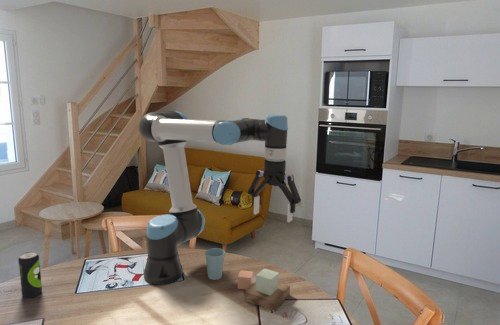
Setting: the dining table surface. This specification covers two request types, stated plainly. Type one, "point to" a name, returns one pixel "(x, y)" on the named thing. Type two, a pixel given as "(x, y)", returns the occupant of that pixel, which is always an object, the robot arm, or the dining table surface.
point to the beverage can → (30, 274)
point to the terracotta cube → (245, 280)
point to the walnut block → (267, 297)
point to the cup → (215, 262)
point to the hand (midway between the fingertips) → (272, 217)
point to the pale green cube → (267, 281)
